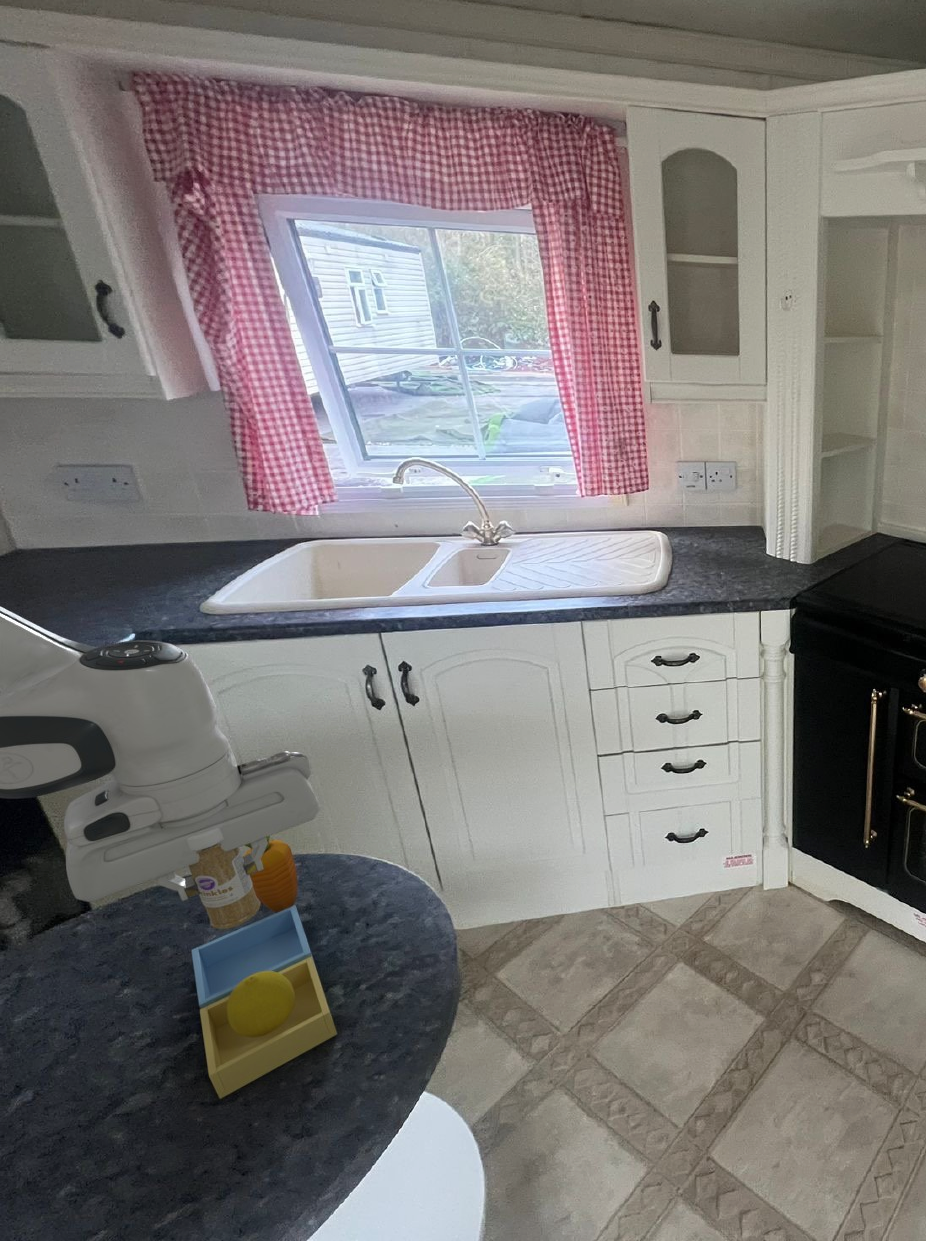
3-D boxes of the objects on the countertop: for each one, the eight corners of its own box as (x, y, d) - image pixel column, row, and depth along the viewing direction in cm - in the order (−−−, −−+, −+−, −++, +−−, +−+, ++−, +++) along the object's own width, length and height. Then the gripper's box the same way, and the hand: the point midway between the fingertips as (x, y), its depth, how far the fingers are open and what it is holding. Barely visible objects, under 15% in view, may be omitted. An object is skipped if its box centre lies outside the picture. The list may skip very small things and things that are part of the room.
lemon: (233, 1061, 74) (209, 1009, 71) (247, 1018, 78) (225, 967, 75) (297, 1040, 76) (277, 988, 73) (307, 998, 81) (289, 948, 78)
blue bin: (209, 1027, 78) (198, 1005, 77) (200, 971, 84) (191, 949, 83) (317, 973, 85) (310, 952, 83) (302, 925, 91) (295, 904, 90)
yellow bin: (219, 1099, 71) (208, 1076, 70) (209, 1031, 77) (199, 1009, 76) (337, 1034, 78) (329, 1012, 76) (319, 977, 84) (311, 955, 83)
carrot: (290, 931, 90) (258, 840, 85) (253, 929, 90) (217, 838, 84) (319, 901, 95) (289, 813, 89) (283, 899, 95) (251, 811, 89)
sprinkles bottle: (204, 935, 78) (164, 842, 73) (220, 906, 82) (183, 815, 77) (254, 924, 80) (218, 831, 75) (268, 895, 84) (234, 806, 79)
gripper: (299, 734, 83) (328, 826, 88) (44, 811, 69) (96, 914, 74) (309, 757, 79) (339, 852, 84) (41, 843, 65) (96, 950, 70)
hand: (223, 882), depth 79 cm, fingers closed on sprinkles bottle, 4 cm apart
